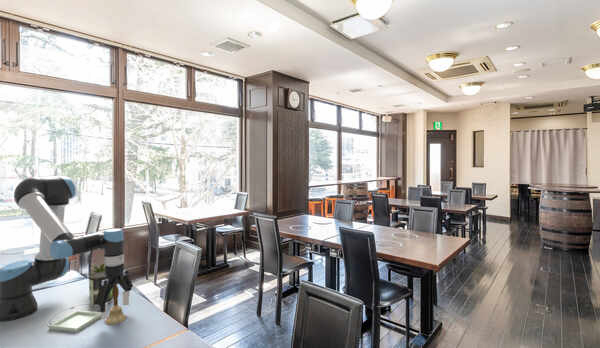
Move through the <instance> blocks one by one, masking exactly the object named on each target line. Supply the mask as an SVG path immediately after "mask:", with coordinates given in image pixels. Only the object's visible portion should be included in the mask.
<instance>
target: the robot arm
mask: <svg viewBox="0 0 600 348" xmlns="http://www.w3.org/2000/svg"><path fill="white" fill-rule="evenodd" d="M76 190H77V189H76V186H75V183H74V181H73V180H72V179H71V178H70V177H68V176H63V175H60V176H58V175H56V176H53V175H52V176H37V177H36V176H35V177H34V176H33V177H28V178H26V179H23V180H22V181H20V182H19V183H18V184H17V186H15V190H14V192H13V193H14V194H13V198H14V201H15V204H16V206H18V207H19V208H20V209H21V210H25V211H26V213H27V214H28V215H29V217H30V218H31V219H32V220H33V222H34V223H35V224H36V225H37V227H38V228H39V229H40V237H39V238H40V239H39V250H38V251H39V252H37V253H36V254H35V255H34V261H33V260H32V261H31V260H29V259H24V260H20V261H14V262H10V263H8V264H6V265H4V266H1V268H0V322H8V321H13V320H16V319H21V318H23V317H27V316H29V315H31V314H33V313H34V312H36V311H37V310H38V309H39V308H38V305H39V304H38V302H37V300H36V297H35V296H34V294H33V287H35V286H39V285H42V284H45V283H47V282H48V283H49V282H51V281H55V280H58V279H59V278H63V277H64V276H65V275H66V274H67V273H68V271H69V267H70V261H69V258H70V257H73V256H77V255H81V254H85V253H89V252H92V251H96V250H101V251H104V253H103V257H104V261H103V262H104V268H105V274H106V276H107V278H106V279H105V280H101V281H100V288H99V292H98V295H97V299H96V302H95V305H100V306H99V312H101V318H100V319H103V320H106V319H108V316H109V313H108V311H109V309H108V308H109V306H108V305H109V303H106V302H107V299H108V297H109V295H110V292H111V290H112V288H114V286H115V285H117V286H118V285H119V286H120V287H121V289H122V306H129V305H130V292H131V291H132V288H133V287H134V284H133V283H132V281H131V280H132V279H131V277H130V275H129V269H125V263H124V262H125V237H124V230H123V229H122V228H110V229H107V230H103V231H104V232H102V231H99V230H97V231H90V232H88V233H86V234H83V235H78V236H74V234H73V233H72V232H71V231H70V230H69V229H68V227H67V226H66V225H65V224H64V223H65V220H64V219H65V209H66V206H68V205H69V204H70V200H71V199H74V197H75V196H76V195H77V191H76ZM105 265H106V266H105ZM109 285H110V286H109ZM103 301H104V302H103Z"/></svg>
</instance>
